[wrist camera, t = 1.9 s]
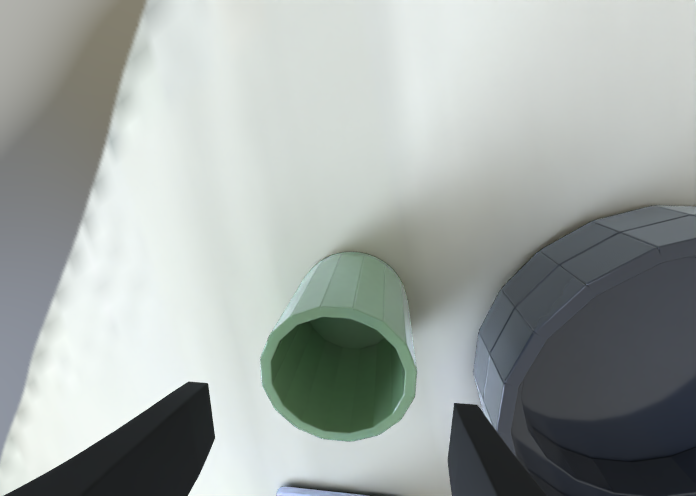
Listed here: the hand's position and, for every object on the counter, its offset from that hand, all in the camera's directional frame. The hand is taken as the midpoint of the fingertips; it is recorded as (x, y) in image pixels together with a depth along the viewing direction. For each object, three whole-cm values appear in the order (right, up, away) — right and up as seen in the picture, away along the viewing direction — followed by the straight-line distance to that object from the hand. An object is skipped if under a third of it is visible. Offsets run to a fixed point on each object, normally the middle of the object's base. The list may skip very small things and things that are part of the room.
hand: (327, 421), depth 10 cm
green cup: (+1, +2, +8) cm, 8 cm away
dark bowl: (+14, 0, +7) cm, 16 cm away
